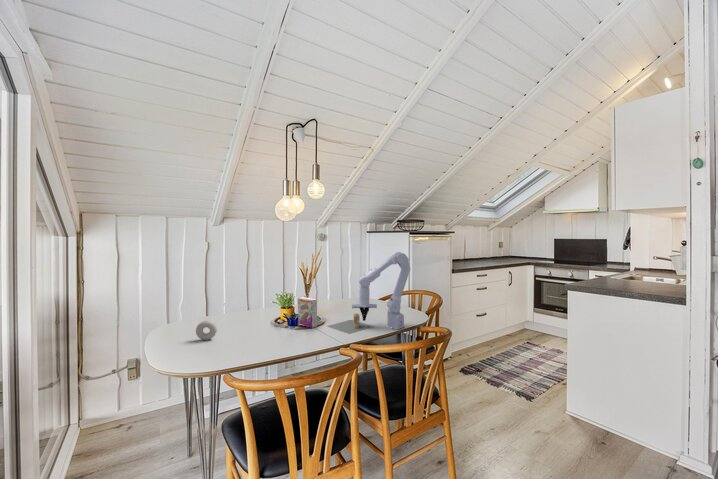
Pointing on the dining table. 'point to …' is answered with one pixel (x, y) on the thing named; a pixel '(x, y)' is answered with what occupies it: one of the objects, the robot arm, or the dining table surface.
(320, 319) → the dining table surface
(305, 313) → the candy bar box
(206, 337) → the donut
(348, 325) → the rubber mat
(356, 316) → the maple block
